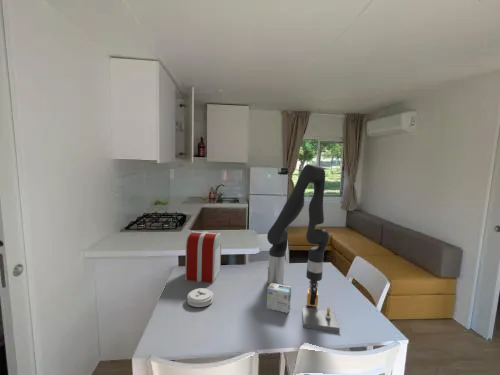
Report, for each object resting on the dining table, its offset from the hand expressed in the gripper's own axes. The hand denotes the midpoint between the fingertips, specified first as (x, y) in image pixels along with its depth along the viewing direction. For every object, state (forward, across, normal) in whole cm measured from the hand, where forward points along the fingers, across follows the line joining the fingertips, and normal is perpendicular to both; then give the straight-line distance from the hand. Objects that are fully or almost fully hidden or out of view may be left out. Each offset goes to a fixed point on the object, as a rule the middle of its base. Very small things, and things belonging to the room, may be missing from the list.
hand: (312, 301), depth 130 cm
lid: (+4, +9, -55) cm, 56 cm away
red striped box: (+4, -19, -64) cm, 67 cm away
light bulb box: (+3, +5, -16) cm, 17 cm away
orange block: (+1, 0, 0) cm, 1 cm away
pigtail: (+1, +12, +6) cm, 13 cm away
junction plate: (+3, +12, +3) cm, 12 cm away
